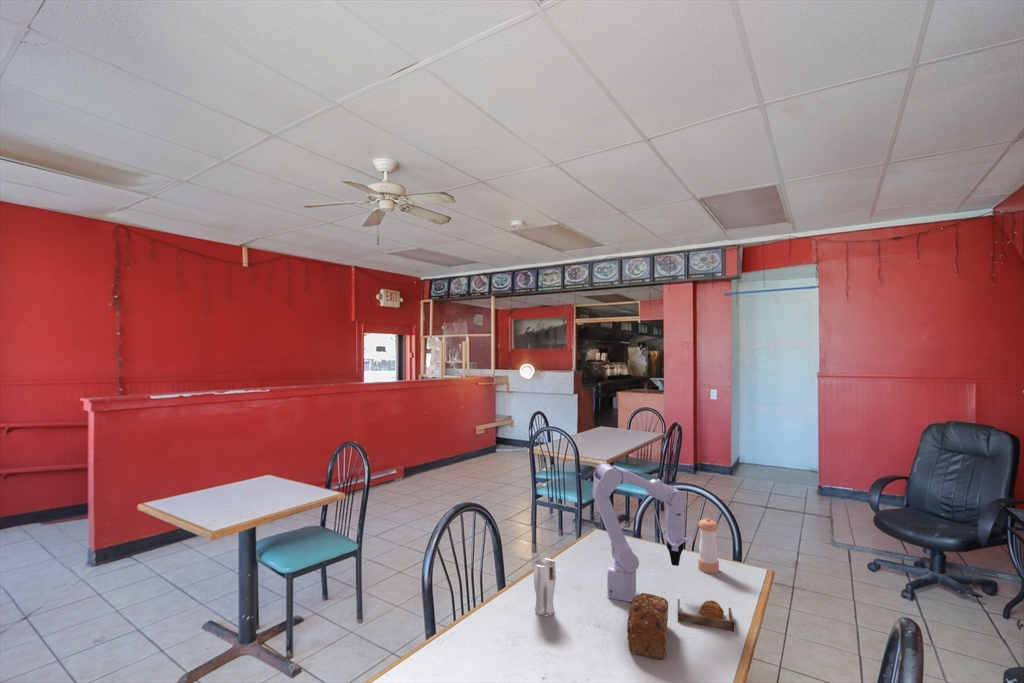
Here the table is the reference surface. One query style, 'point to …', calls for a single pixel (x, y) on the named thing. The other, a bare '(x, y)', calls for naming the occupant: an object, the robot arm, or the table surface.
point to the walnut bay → (706, 620)
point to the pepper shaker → (708, 546)
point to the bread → (648, 625)
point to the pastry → (711, 609)
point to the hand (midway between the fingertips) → (675, 564)
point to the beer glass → (544, 585)
